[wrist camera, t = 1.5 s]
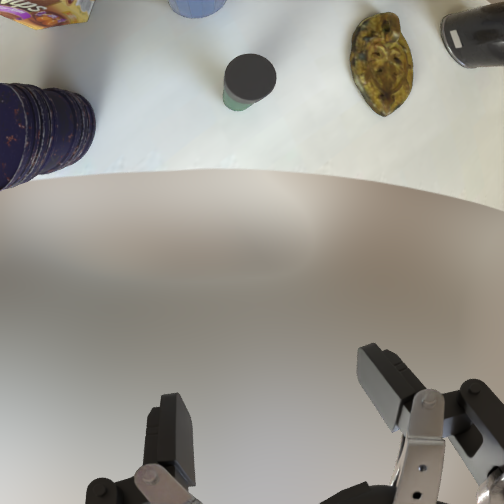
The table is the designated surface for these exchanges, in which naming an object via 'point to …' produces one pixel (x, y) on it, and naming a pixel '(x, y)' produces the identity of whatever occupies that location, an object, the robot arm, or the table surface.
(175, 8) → the pen cup
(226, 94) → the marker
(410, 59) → the olive pointed oval piece
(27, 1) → the candy box
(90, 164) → the table surface
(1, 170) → the storage jar
